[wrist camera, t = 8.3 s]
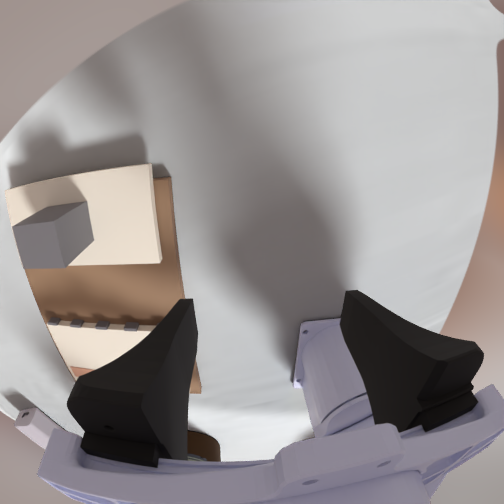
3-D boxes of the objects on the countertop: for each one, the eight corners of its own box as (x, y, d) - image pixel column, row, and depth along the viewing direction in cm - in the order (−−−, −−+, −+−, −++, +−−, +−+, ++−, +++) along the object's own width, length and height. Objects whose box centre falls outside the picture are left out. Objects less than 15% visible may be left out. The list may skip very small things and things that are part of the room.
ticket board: (201, 386, 28) (200, 393, 27) (78, 375, 27) (75, 381, 26) (171, 177, 19) (168, 179, 18) (14, 199, 18) (7, 202, 17)
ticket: (190, 387, 27) (189, 394, 26) (78, 377, 26) (76, 382, 25) (175, 323, 23) (173, 329, 22) (48, 316, 22) (44, 322, 21)
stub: (162, 258, 20) (143, 297, 15) (26, 262, 19) (-6, 291, 15) (151, 163, 17) (122, 175, 12) (10, 188, 16) (-30, 206, 12)
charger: (74, 450, 38) (20, 409, 33) (97, 450, 37) (38, 405, 31) (69, 467, 34) (12, 426, 28) (92, 469, 33) (29, 425, 27)
